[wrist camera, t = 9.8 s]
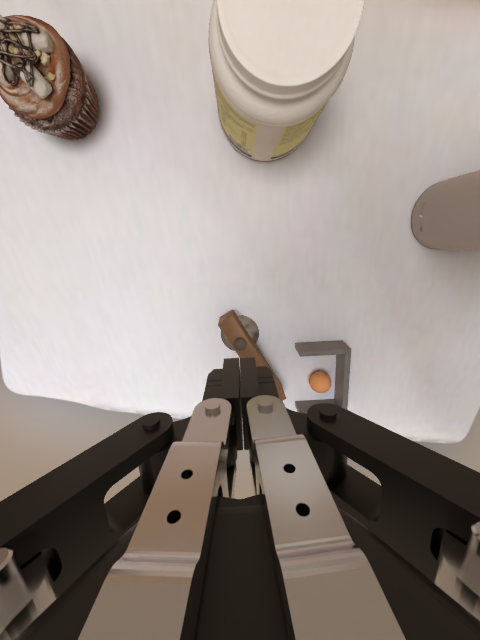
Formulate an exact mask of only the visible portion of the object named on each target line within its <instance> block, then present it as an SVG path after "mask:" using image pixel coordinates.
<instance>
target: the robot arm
mask: <svg viewBox="0 0 480 640" xmlns="http://www.w3.org/2000/svg"><path fill="white" fill-rule="evenodd" d="M412 230H413V233H414V235H415V237H416V238H417V240H418V241H419V242H420V243H421V244H423V245H424V246H426V247H429V248H433V249H450V250H475V251H480V170H479V171H475V172H472V173H468V174H465V175H461V176H458V177H455V178H451V179H448V180H445V181H441V182H438V183H436V184H434V185H432V186H431V187H430V188H428V189H427V190H426V191H425V192H424V193H423V194H422V195H421V196H420V198H419V199H418V201H417V202H416V205H415V207H414V209H413V213H412ZM240 379H241V381H240ZM242 421H243V435H244V449H245V450H248V449H249V451H250V467H251V474H252V481H253V488H254V494H255V496H252V497H248V498H245V499H233V498H234V487H235V477H236V459H237V450H243V439H242V438H243V437H242ZM347 457H348V458H350V459H352V460H353V461H355V462H356V463H358V464H359V465H361V466H363V467H365V468H366V469H368V470H369V471H371V472H372V473H373V474H374V475H375V476H376V477H377V478H378V479H379V481H380V483H381V486H380V485H378V484H377V483H375V482H374V481H372V480H370V479H369V478H368V477H366V476H364V475H363V474H361V473H360V472H358V471H357V470H355V469H353V468H352V467H350V466H348V465H347ZM138 466H139V471H140V477H138V478H137V479H135V480H134V481H133V482H132V483H130V484H129V485H128V486H127V487H125V488H124V489H123V490H121V491H120V492H119V493H118V494H116V495H115V496H114V497H112V498H111V499H110V500H109V501H107V502H106V503H105V504H104V497H105V495H106V493H107V491H108V490H109V489H110V488H111V487H112V486H113V485H114V484H115V483H116V482H118V481H119V480H120V479H122V478H123V477H125V476H126V475H127V474H129V473H130V472H131V471H132V470H134V469H135V468H136V467H138ZM0 640H480V473H479V472H477V471H475V470H472V469H470V468H468V467H466V466H464V465H462V464H460V463H458V462H455V461H454V460H451V459H449V458H447V457H445V456H443V455H441V454H439V453H436V452H435V451H432V450H430V449H428V448H426V447H424V446H422V445H420V444H418V443H416V442H413V441H411V440H409V439H407V438H405V437H403V436H401V435H399V434H397V433H394V432H392V431H390V430H388V429H386V428H384V427H382V426H380V425H377V424H375V423H373V422H371V421H369V420H367V419H365V418H363V417H361V416H358V415H356V414H354V413H352V412H350V411H348V410H346V409H344V408H342V407H339V406H337V405H334V404H330V403H319V404H315V405H312V406H311V407H310V408H309V409H308V411H307V414H305V413H299V412H294V411H291V410H289V409H287V408H285V405H284V403H283V402H282V400H280V399H279V396H278V392H277V388H276V384H275V381H274V378H273V373H272V371H271V370H270V369H269V368H268V367H267V366H260V367H256V362H255V357H246V358H240V366H239V358H230V359H224V364H223V369H214V370H213V371H212V372H211V373H210V374H209V375H208V378H207V383H206V387H205V392H204V396H203V401H202V402H200V403H199V404H198V405H197V406H196V407H195V409H194V411H193V414H192V416H191V417H188V418H186V419H183V420H179V421H175V422H173V421H172V417H171V416H170V415H169V414H167V413H162V412H156V413H151V414H147V415H145V416H143V417H141V418H139V419H137V420H136V421H134V422H132V423H131V424H129V425H127V426H126V427H124V428H122V429H121V430H119V431H117V432H116V433H114V434H113V435H111V436H109V437H107V438H106V439H104V440H102V441H101V442H99V443H97V444H96V445H94V446H92V447H91V448H89V449H88V450H86V451H84V452H82V453H81V454H79V455H77V456H76V457H74V458H73V459H71V460H69V461H67V462H66V463H64V464H62V465H61V466H59V467H58V468H56V469H54V470H52V471H51V472H49V473H47V474H46V475H44V476H42V477H41V478H39V479H37V480H36V481H34V482H33V483H31V484H29V485H27V486H26V487H24V488H22V489H21V490H19V491H17V492H16V493H14V494H13V495H11V496H9V497H7V498H6V499H4V500H2V501H1V502H0Z"/></svg>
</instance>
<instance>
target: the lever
mask: <svg viewBox="0 0 480 640" xmlns="http://www.w3.org/2000/svg"><path fill="white" fill-rule="evenodd" d="M218 326H219V327H220V329H221V330H222V332H223V333H224V335H225V336H226V338H227V339H228V341H229V342H230V343H231V345H232V346H233V348H234V349H235V351H236V352H237V354H238V355H239V357H240V358H246V357H255V362H256V367H260V366H267V367H268V368H269V369H270V370H271V371H272V369H271V368H270V366H269V365H268V363H267V362H266V360H265V359H264V357H263V355H262V354H261V352H260V351H259V349H258V348H257V346H256V345H255V343H254V342H253V340H252V338H251V337H250V335H249V334H248V332H247V331H246V329H245V328H244V326H243V325H242V323H241V321H240V320H239V318H238V317H237V315H236V314H235V312H234V311H233V310H231V311H230V312H228V313H226V314H225V315H223V316H221V317H220V319H219V323H218ZM272 373H273V378H274V381H275V384H276V388H277V392H278V396H279V399H280V400H282V401H283V400H285V399H286V397H285V394H284V391H283V388H282V385H281V383H280V382H279V380H278V379H277V377H276V376H275V374H274V372H273V371H272Z"/></svg>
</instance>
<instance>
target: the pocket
mask: <svg viewBox="0 0 480 640" xmlns="http://www.w3.org/2000/svg"><path fill="white" fill-rule="evenodd" d="M295 348H296V350H297V351H298V353H299V355H300V357H301V356H318V355H335V354H337V357H336V377H335V398H334V399H327V400H310V401H295V406H296V409H297V411H298V412H299V413H305V414H307V411H308V409H309V408H310V407H311V406H312V405H315V404H319V403H330V404H334V405H337V406H339V407H342V408H344V409H346V410H347V405H348V389H349V374H350V358H351V348H350V347H349V346H348V345H347V344H346V343H344V342H343V341H342V340H341V341H324V342H306V343H295Z"/></svg>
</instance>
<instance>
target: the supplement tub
mask: <svg viewBox="0 0 480 640" xmlns="http://www.w3.org/2000/svg"><path fill="white" fill-rule="evenodd" d="M363 7H364V0H214V2H213V6H212V10H211V16H210V23H209V53H210V60H211V65H212V71H213V78H214V85H215V92H216V99H217V106H218V114H219V120H220V123H221V126H222V129H223V131H224V133H225V135H226V137H227V138H228V140H229V141H230V143H231V144H232V145H233V147H234V148H235V149H236V150H238V151H239V152H240V153H241V154H243V155H245V156H247V157H249V158H251V159H255V160H260V161H270V160H276V159H279V158H282V157H284V156H286V155H288V154H289V153H291V152H292V151H294V150H295V149H296V148H297V147H298V146H299V145H300V144H301V143H302V142H303V140H304V139H305V138H306V136H307V134H308V133H309V131H310V129H311V127H312V126H313V124H314V123H315V121H316V119H317V118H318V116H319V115H320V113H321V112H322V110H323V109H324V107H325V106H326V104H327V103H328V101H329V100H330V98H331V97H332V96H333V94H334V93H335V92H336V90H337V89H338V87H339V85H340V83H341V82H342V80H343V77H344V75H345V73H346V70H347V68H348V65H349V62H350V59H351V55H352V51H353V46H354V41H355V34H356V32H357V29H358V26H359V23H360V20H361V16H362V12H363Z"/></svg>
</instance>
